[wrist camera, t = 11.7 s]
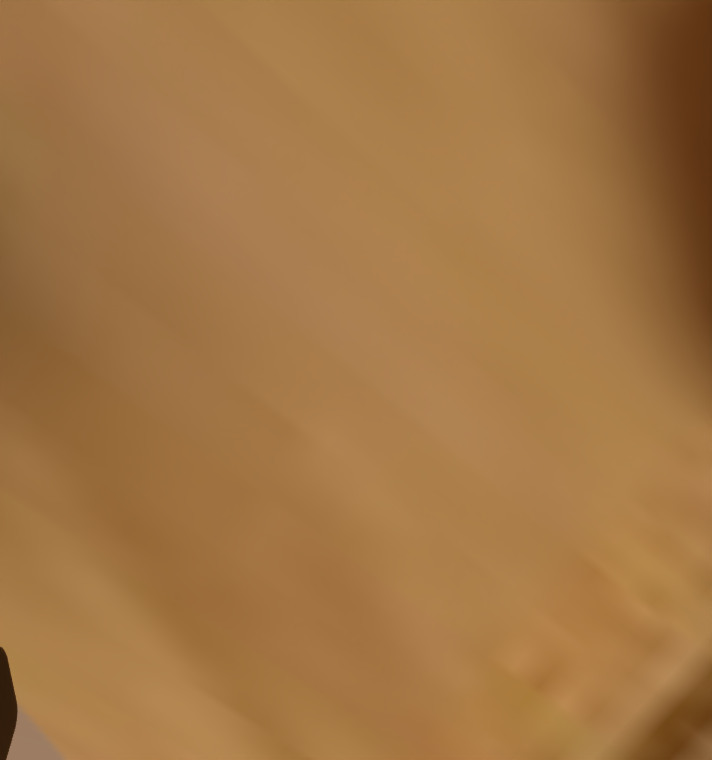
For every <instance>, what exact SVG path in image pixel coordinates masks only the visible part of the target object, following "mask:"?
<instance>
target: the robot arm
mask: <svg viewBox="0 0 712 760" xmlns="http://www.w3.org/2000/svg"><path fill="white" fill-rule="evenodd" d="M16 721H17V701H16V696H15V692H14V687H13V682H12V677H11V673H10V668H9V663H8V658H7V655H6V652H5V651H4V649H3V648H2V647H0V760H6V758H7V755H8V752H9V748H10V745H11V741H12V738H13V734H14V731H15V727H16Z"/></svg>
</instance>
